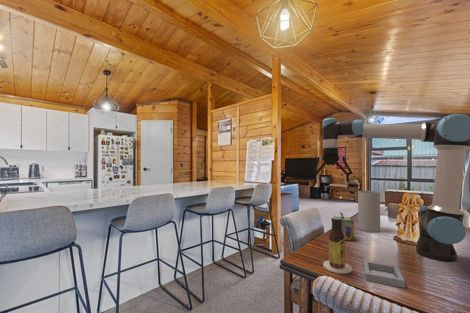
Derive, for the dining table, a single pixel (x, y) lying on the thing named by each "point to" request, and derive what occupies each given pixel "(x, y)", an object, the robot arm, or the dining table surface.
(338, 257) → the sauce bottle
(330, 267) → the coaster
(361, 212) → the cylinder vase
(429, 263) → the dining table surface
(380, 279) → the pocket frame
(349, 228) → the chalk box
